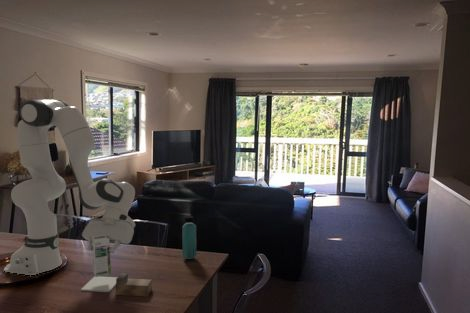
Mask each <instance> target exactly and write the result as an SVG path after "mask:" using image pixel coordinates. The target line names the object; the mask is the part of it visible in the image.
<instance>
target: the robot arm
mask: <svg viewBox="0 0 470 313" xmlns="http://www.w3.org/2000/svg"><path fill="white" fill-rule="evenodd" d="M19 116H20V119H21V120H20V121H19V122H18V123H17V133H16V134H17V145H18V147H17V148H18V152H19V154H18V155H19V159H20V163H21V166H22V167H23V168H25V169H27V170H28V172H29V173H30V175H31V178H30V179H27V180H24V181H22V182H20V183H18V184H16V185H15V186H13V187H12V189H11V193H10V197H11V201H12V203H13V204H14V205H15V206H17V207H18V208H19V209H21V211H22V212H23V214H24V217H25V220H26V228H27V236H25V237H24V238H22V239H21V243H23V242H24V243H23V245H21V247H20V248H18V249H16V251H15V252H13V253H12V254H11V256H10V258H9V259H10V260H9V263H8V264H6V266H5V267H4V268H3V272H4V271H5V272H4V273H7V272H10V273H9V274H13V273H17V274H16V275H19V274H25V275H30V276H29V277H32V276H31V275H35V276H37V275H36V274H38V275H40V274H39V273H42V272H45V271H49V270H52V269H54V268H56V267H58V266H60V265H61V264H62V262H63V261H62V260H63V259H62V257H61V255H60V249H59V246H60V245H59V244H60V243H59V242H60V241H59V240H60V238H59V232H58V225H57V215H56V214H55V213H54V212H52V211H51V210H50V207H49V202H50V201H53V200H55V199H57V198H59V197H60V196H62V195H63V194H64V193H65V191H66V190H67V183H66V180H65V179H64V178H63V177H62V176H61V175H59V173H58V172H57V171H56V169H55V166H54V164H53V161H52V156H51V152H50V146H49V145H50V144H49V139H48V131H49V130H50V128H52V129H56V128H57V130H58V132H59V134H60V136H61V137H62V140H63V143H64V145H65V147H66V150H67V155H68V160H69V163H70V164H69V165H70V166H71V170H72V173H73V176H74V179H75V181H76V182H75V183H76V185H77V187H78V196H79V197H78V198H79V202H80V204H81V205H82V207H84V208H85V209H87V210H92V211H93V210H97V209H99V208H101V207H102V206H106V207H105V208H106V209H105V210H104V213H103V216H102V217H94V218H92V219H89V221H88V223H87V224H86V226H85V227H84V229H83V231H82V233H81V234H82V237H83V238H84V239H85V240H86V241H88V242H87V243H88V246H87V249H86V250H88V251H90V252H93V248H92V236H99V235H108V237H109V241H110V243H113V246H110V248H109V252H110V254H115V250H117V249H118V248H119V247H120V246H121V244H125V245H128V244H130V243H131V241H132V240H133V236H134V233H135V231H134V230H135V229H134V228H135V227H136V223H135V221H134V220H133V219H132V218H131V217H130V216H129V214H128V213H129V210H130V209H131V208H132V206H133V204H134V203H133V202H134V199H135V195H136V189H135V187H134V186H133V185H132V184H130V183H129V182H127V181H114V180H112V179H110V178H102V179H99V180H98V181H97V180H96V181H95V182H94V178H93V176H92V174H91V171H90V167H89V164H88V163H89V157H90V154H91V153H92V151H93V149H94V146H95V137H94V134H93V132H92V130H91V129H92V128H90V124H89V123H88V121H87V119H86V118H85V116H84V115H83V112H81V110H80V109H79V108H78V107H76V106H74V105H73V106H72V105H69V104H68V103H67V102H65V101H63V100H61V99H60V100H59V99H52V98H42V99H40V98H39V99H38V98H37V99H36V98H35V99H34V98H33V99H29V100H27V101H24V102H23V103H22V104H21V106H20V108H19ZM42 274H43V273H42ZM25 275H24V276H25Z"/></svg>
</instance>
